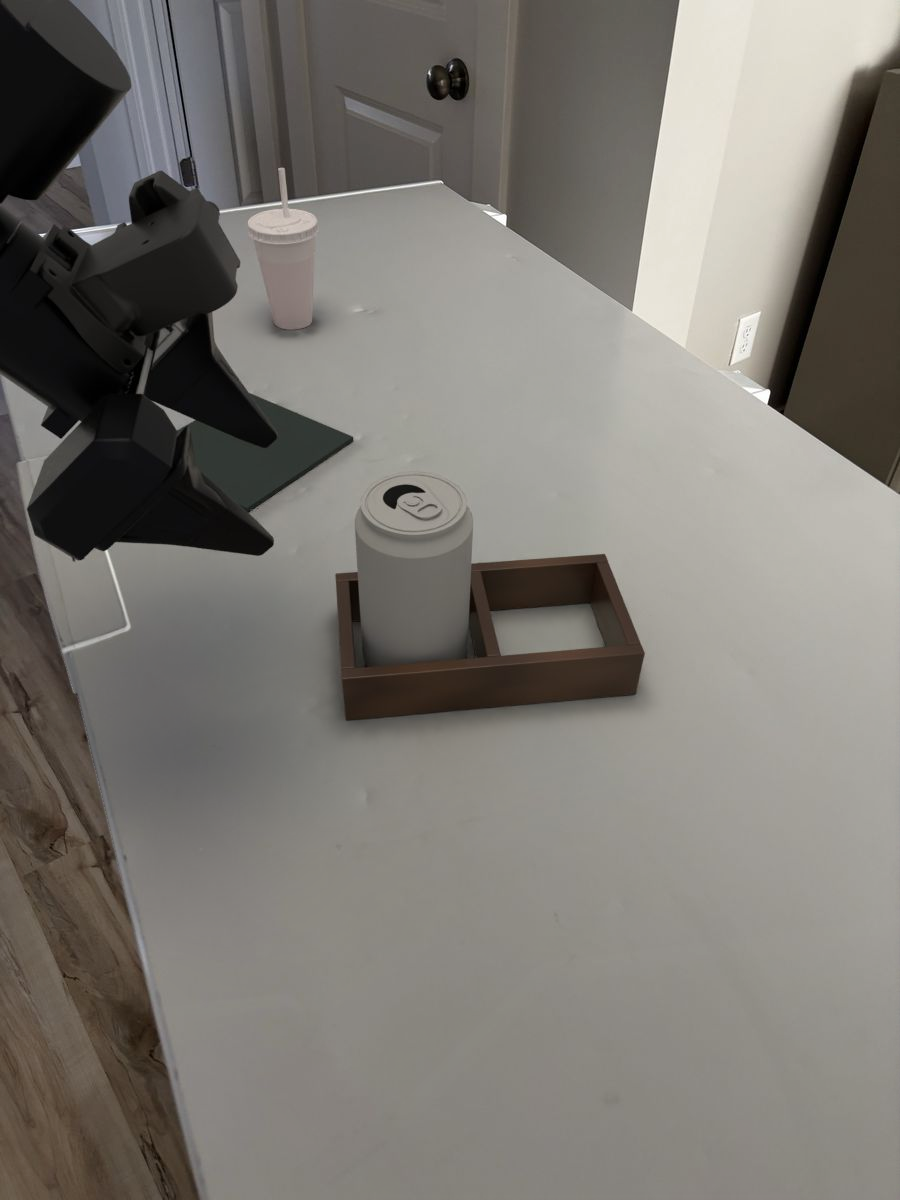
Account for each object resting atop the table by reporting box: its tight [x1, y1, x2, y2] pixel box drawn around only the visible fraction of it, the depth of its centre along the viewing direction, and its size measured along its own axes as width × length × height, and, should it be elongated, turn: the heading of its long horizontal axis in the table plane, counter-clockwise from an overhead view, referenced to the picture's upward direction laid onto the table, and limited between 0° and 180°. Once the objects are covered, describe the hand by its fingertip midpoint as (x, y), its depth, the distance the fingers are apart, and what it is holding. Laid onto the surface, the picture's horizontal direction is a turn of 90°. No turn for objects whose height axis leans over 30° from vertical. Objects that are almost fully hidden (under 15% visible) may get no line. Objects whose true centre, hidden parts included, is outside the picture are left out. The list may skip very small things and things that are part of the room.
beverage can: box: [354, 470, 474, 667], centre depth 53 cm, size 6×6×12 cm
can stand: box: [334, 553, 646, 721], centre depth 56 cm, size 17×9×4 cm, turn 97°
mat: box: [176, 392, 354, 513], centre depth 74 cm, size 12×12×1 cm
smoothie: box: [247, 167, 320, 331], centre depth 86 cm, size 6×6×14 cm
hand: (270, 491), depth 47 cm, fingers open, 9 cm apart
